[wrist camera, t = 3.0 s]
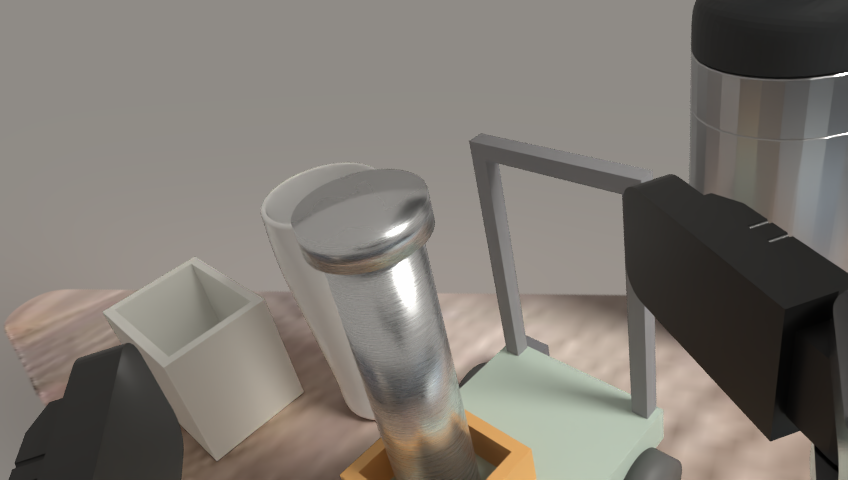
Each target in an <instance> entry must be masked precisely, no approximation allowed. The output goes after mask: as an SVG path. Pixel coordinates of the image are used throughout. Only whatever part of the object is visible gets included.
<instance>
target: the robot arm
mask: <svg viewBox="0 0 848 480" xmlns="http://www.w3.org/2000/svg"><path fill="white" fill-rule="evenodd" d="M690 103H691V108H690V163H689V184H687V183H686V182H685V181H683V180H682V179H680V178H679V177H677V176H676V175H672V174H669V175H666V176H663V177H659V178H656V179H653V180H650V181H646V182H643V183H640V184H637V185H634V186H630V187H628V188H626V189H625V191H624V194H623V221H624V241H625V261H626V270H627V275H628V278H629V281H630V284H631V286H632V288H633V291H634V292H635V294H636V296H637V297H638V299H639V300H640V301H641V302H642V304H643V305H644V306H645V307H646V308H647V309H648V310H649V311H650V312H651V313H652V314H653V315H654V316H655V318H656V319H657V320H658V321H659V322H660V323H661V324H662V325H663V326H664V327H665V328H666V329H667V331H668V332H669V333H670V334H671V335H672V336H673V337H674V338H675V339H676V340H677V341H678V342H679V343H680V345H681V346H682V347H683V348H684V349H685V350H686V351H687V352H688V353H689V354H690V355H691V356H692V358H693V359H694V360H695V361H696V362H697V363H698V364H699V365H700V366H701V367H702V368H703V369H704V370H705V372H706V373H707V374H708V375H709V376H710V377H711V378H712V379H713V380H714V381H715V382H716V383H717V385H718V386H719V387H720V388H721V389H722V390H723V391H724V392H725V393H726V394H727V395H728V396H729V397H730V399H731V400H732V401H733V402H734V403H735V404H736V405H737V406H738V407H739V408H740V409H741V410H742V411H743V413H744V414H745V415H746V416H747V417H748V418H749V419H750V420H751V421H752V422H753V423H754V424H755V426H756V427H757V428H758V429H759V430H760V431H761V432H762V433H763V434H764V435H765V436H766V437H767V438H768V440H769V441H773V440H776V439H779V438H781V437H784V436H787V435H789V434H792V433H795V432H798V431H801V432H802V433H803V434H804V435H805V436H806V437H807V438H808V439H809V440H810V441H811V442H812V443H811V449H810V477H811V480H848V0H696V2H695V5H694V9H693V15H692V33H691V95H690ZM183 450H184V449H183V438H182V433H181V429H180V425H179V422H178V419H177V417H176V414H175V412H174V410H173V409H172V407H171V405H170V403H169V402H168V400H167V398H166V397H165V395H164V393H163V391H162V390H161V388H160V386H159V384H158V383H157V381H156V379H155V377H154V376H153V374H152V372H151V370H150V369H149V367H148V365H147V363H146V362H145V360H144V358H143V357H142V355H141V353H140V352H139V350H138V349H137V348H136V347H135V346H134V345H133V344H131V343H125V344H122V345H119V346H116V347H113V348H109V349H106V350H103V351H100V352H97V353H93V354H90V355H87V356H84V357H81V358H78V359H77V360H76V361H75V363H74V365H73V368H72V371H71V374H70V377H69V381H68V384H67V387H66V390H65V393H64V396H63V398H62V399H59V400H55V401H52V402H49V404H48V405H47V406H46V408H45V409H44V410H43V411H42V413H41V414H40V415H39V417H38V418H37V419H36V420H35V422H34V423H33V424H32V426H31V427H30V428H29V430H28V431H27V432H26V433H25V436H24V439H23V442H22V444H21V447H20V450H19V453H18V455H17V458H16V461H15V465H16V468H15V469H13V470H12V472H11V475H10V477H9V480H181V476H182V464H183Z"/></svg>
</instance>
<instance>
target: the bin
mask: <svg viewBox="0 0 848 480" xmlns="http://www.w3.org/2000/svg"><path fill="white" fill-rule="evenodd" d="M103 314H104V315H105V317H106V319H107V320H108V322H109V324H110V325H111V327H112V329H113V330H114V332H115V334H116V335H117V337H118V339H119V340H120V342H121V344H125V343H131V344H133V345H134V346H135V347H136V348H137V349H138V350H139V352H140V353H141V355H142V357H143V358H144V360H145V362H146V363H147V365H148V367H149V369H150V370H151V372H152V374H153V376H154V377H155V379H156V381H157V383H158V384H159V386H160V388H161V390H162V391H163V393H164V395H165V397H166V398H167V400H168V402H169V403H170V405H171V407H172V409H173V410H174V412H175V414H176V417H177V419H178V422H179V424H180V425H181V426H182V427H183V428H184V429H185V430H186V431H187V432H188V433H189V434H190V435H191V436H192V437H193V438H194V439H195V440H196V441H197V442H198V443H199V444H200V445H201V446H202V447H203V448H204V449H205V450H206V451H207V452H208V453H209V454H210V455H211V456H212V457H213V458H214V459H215V460H216V461H218V460H219V459H221V458H222V457H223V456H224V455H226V454H227V453H228V452H229V451H231V450H232V449H233V448H234V447H236V446H237V445H238V444H239V443H241V442H242V441H243V440H244V439H246V438H247V437H248V436H249V435H251V434H252V433H253V432H254V431H256V430H257V429H258V428H260V427H261V426H262V425H263V424H265V423H266V422H267V421H268V420H270V419H271V418H272V417H273V416H275V415H276V414H277V413H278V412H280V411H281V410H282V409H283V408H285V407H286V406H287V405H288V404H290V403H291V402H292V401H293V400H295V399H296V398H297V397H298V396H300V395H301V394H302V393H304V391H303V389H302V386H301V384H300V382H299V379H298V377H297V374H296V372H295V370H294V367H293V365H292V363H291V360H290V358H289V356H288V353H287V351H286V348H285V346H284V344H283V341H282V339H281V337H280V334H279V332H278V330H277V327H276V325H275V322H274V320H273V318H272V315H271V313H270V311H269V308H268V306H267V304H266V301H265V299H263V298H262V297H260V296H258V295H257V294H255V293H254V292H252V291H250V290H249V289H247V288H245V287H244V286H242V285H240V284H239V283H237V282H235V281H234V280H232V279H231V278H229V277H227V276H226V275H224V274H223V273H221V272H219V271H218V270H216V269H214V268H213V267H211V266H209V265H208V264H206V263H205V262H203V261H201V260H200V259H198V258H196V257H193V258H192V259H190V260H188V261H187V262H185V263H183V264H182V265H180V266H179V267H177V268H175V269H173V270H172V271H170V272H168V273H167V274H165V275H163V276H162V277H160V278H158V279H157V280H155V281H153V282H151V283H150V284H148V285H146V286H145V287H143V288H141V289H140V290H138V291H136V292H135V293H133V294H131V295H130V296H128V297H126V298H125V299H123V300H121V301H120V302H118V303H116V304H115V305H113V306H111V307H110V308H108V309H106V310H105V311H103Z"/></svg>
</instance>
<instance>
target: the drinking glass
mask: <svg viewBox="0 0 848 480" xmlns="http://www.w3.org/2000/svg"><path fill="white" fill-rule="evenodd" d="M367 170H375V168H373V167H371V166H369V165H366V164H361V163H352V162H346V163H345V162H344V163H334V164H328V165H323V166H319V167H315V168H312V169H309V170H306V171H303V172H301V173H299V174H296V175H294V176H292V177H290V178H289V179H287V180H285V181H283V182H282V183H281V184H279V185H278V186H276V187H275V188H274V189H273V190H272V191H271V192H270V193H269V194H268V195H267V196H266V198H265V199H264V201H263V203H262V205H261V216H262V219H263V222H264V225H265V228H266V231H267V235H268V238H269V240H270V243H271V246H272V249H273V252H274V254H275V257H276V259H277V261H278V264H279V267H280V269H281V271H282V274H283V276H284V278H285V280H286V282H287V284H288V287H289V288H290V291H291V293H292V295H293V297H294V298H295V300H296V302H297V304H298V306H299V308H300V310H301V312H302V314H303V316H304V318H305V320H306V322H307V324H308V325H309V327H310V329H311V331H312V333H313V335H314V337H315V339H316V341H317V343H318V345H319V347H320V349H321V351H322V353H323V355H324V357H325V359H326V361H327V362H328V364H329V366H330V368H331V370H332V372H333V374H334V376H335V378H336V380H337V383H338V385H339V387H340V390H341V393H342V395H343V398H344V400H345V402H346V404H347V406H348V407H349V408H350V410H351V411H352V412H354V413H355V414H357V415H358V416H360V417H363V418H366V419H371V420H375V417H374V415H373V412H372V409H371V406H370V403H369V400H368V397H367V394H366V391H365V389H364V386H363V383H362V380H361V377H360V374H359V371H358V368H357V365H356V362H355V360H354V357H353V354H352V351H351V348H350V345H349V342H348V339H347V336H346V333H345V331H344V328H343V325H342V322H341V319H340V316H339V313H338V310H337V307H336V305H335V302H334V299H333V296H332V293H331V290H330V287H329V284H328V281H327V278H326V276H325V273H324V272H321V271H319V270H316V269H314V268H313V267H311V266H310V265H308V264H307V263H306V261H305V260H304V258H303V255H302V253H301V250H300V247H299V244H298V242H297V239H296V236H295V233H294V231H293V228H292V225H291V217H292V213H293V211H294V209H295V208H296V206H297V205H298V204H299V203H300V201H301V200H302V199H303V198H305V197H306V196H307V195H308V194H310V193H311V192H312V191H314V190H315V189H317V188H319V187H320V186H322V185H324V184H326V183H328V182H330V181H332V180H335V179H337V178H340V177H343V176H346V175H349V174H353V173H357V172H362V171H367Z"/></svg>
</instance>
